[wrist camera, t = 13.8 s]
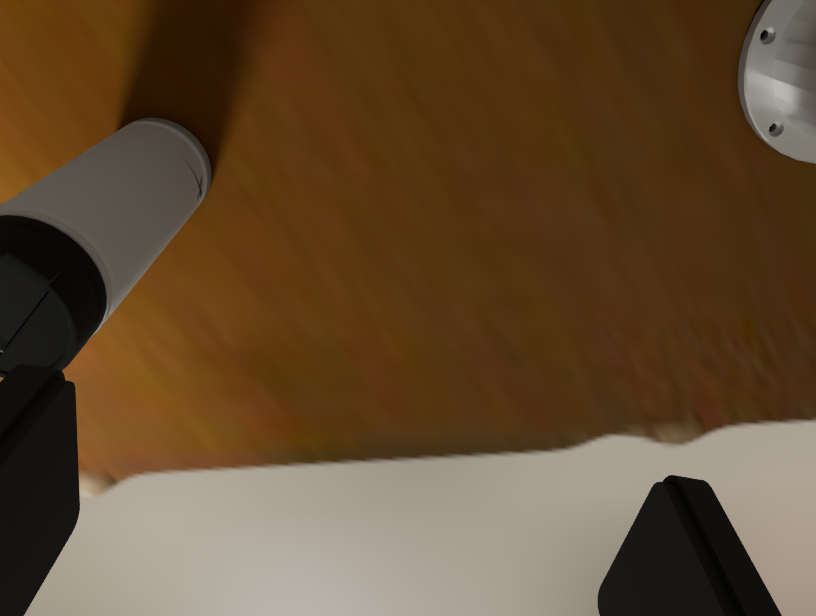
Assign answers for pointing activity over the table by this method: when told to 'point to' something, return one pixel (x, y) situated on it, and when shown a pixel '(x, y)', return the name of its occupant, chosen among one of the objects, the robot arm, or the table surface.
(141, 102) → the table surface
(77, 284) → the travel mug
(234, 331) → the table surface
